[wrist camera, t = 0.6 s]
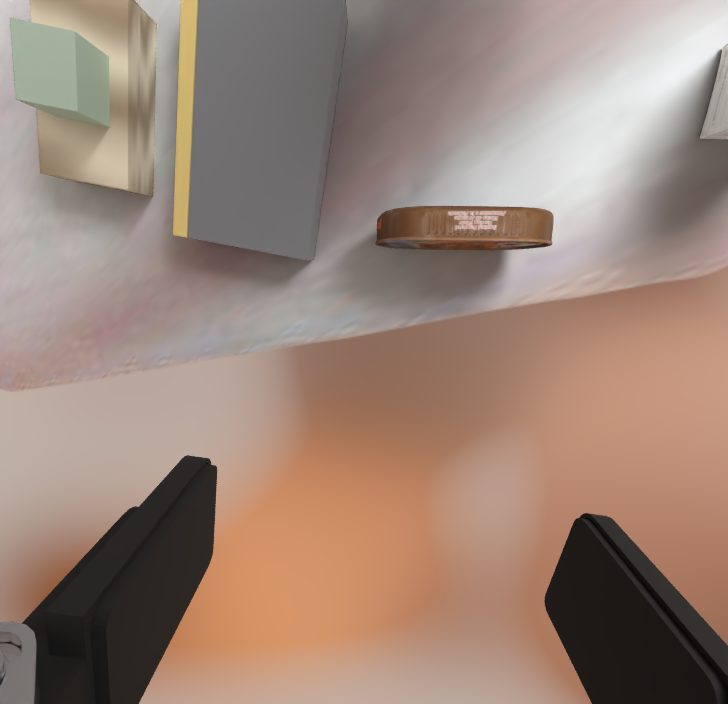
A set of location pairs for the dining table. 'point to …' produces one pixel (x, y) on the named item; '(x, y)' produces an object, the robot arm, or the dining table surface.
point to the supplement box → (718, 104)
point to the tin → (465, 228)
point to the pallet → (127, 98)
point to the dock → (256, 120)
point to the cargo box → (60, 72)
